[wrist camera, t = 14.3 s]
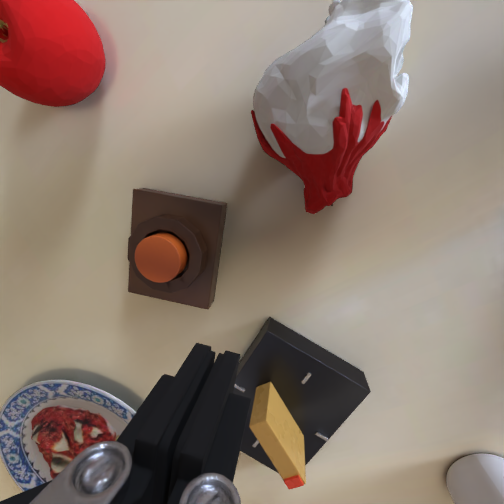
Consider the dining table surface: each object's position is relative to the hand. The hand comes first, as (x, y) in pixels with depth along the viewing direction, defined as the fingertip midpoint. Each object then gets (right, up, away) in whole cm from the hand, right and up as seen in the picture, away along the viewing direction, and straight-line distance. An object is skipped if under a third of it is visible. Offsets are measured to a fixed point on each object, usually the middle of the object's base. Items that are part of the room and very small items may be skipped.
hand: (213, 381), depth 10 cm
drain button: (-7, +5, +16) cm, 18 cm away
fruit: (-15, +23, +17) cm, 32 cm away
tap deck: (+5, -12, +23) cm, 26 cm away
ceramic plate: (-21, -23, +30) cm, 43 cm away
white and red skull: (+8, +16, +15) cm, 24 cm away
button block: (-6, +5, +20) cm, 22 cm away
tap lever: (+4, -12, +20) cm, 24 cm away
